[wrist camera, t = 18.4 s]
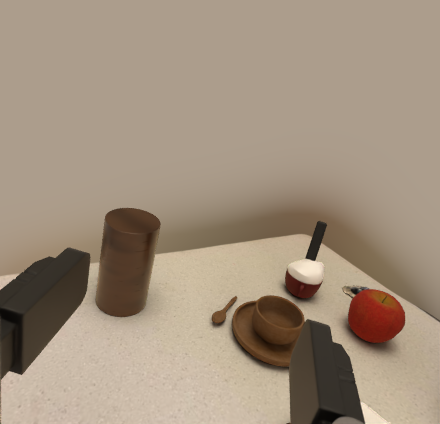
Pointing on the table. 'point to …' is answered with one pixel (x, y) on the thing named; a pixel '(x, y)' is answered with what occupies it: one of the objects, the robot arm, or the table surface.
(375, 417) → the flat white panel
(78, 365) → the table surface
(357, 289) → the geode slice
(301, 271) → the cocoa
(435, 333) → the table surface
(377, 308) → the apple
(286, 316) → the place setting
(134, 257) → the brown cylinder
